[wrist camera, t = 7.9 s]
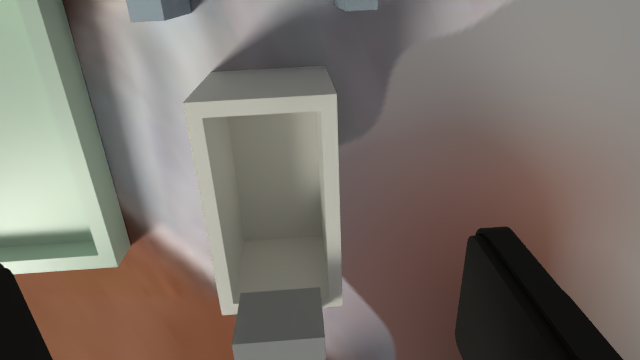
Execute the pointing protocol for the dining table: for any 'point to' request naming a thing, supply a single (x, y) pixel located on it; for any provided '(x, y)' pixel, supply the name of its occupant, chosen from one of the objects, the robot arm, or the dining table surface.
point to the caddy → (270, 204)
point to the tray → (51, 151)
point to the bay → (167, 3)
